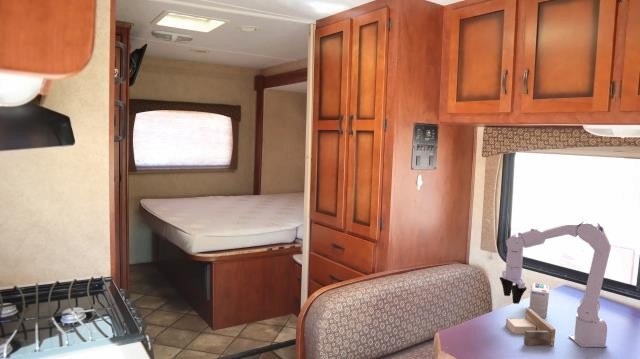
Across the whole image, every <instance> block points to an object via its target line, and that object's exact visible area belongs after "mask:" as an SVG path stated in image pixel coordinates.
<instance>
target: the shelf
mask: <svg viewBox="0 0 640 359" xmlns="http://www.w3.org/2000/svg"><path fill="white" fill-rule="evenodd" d="M525 319H528V320H529V321H530V322H531V323H533V324H534V325H535V326H536V331H525V334H524V338H523V339H524V340H523V345H524V346H529V347H530V346H532V347H535V346H538V347H539V346H541V347H544V346H545V345H554V346H555V340H556V328H554V327H553V326H552V325H551V324H550V323H549V322H547V321H546V319H544V318H541V317H540V316H539V315H537V314H536V313H535V312H534V311H533V310H531V309H529V308H525Z"/></svg>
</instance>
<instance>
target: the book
mask: <svg viewBox="0 0 640 359" xmlns="http://www.w3.org/2000/svg"><path fill="white" fill-rule="evenodd" d="M505 326H506V327H507V328H508V329H509V330H510V331H511V332H512V333H513V334H517V335H520V334H521V335H523V334H524V335H525V331H536V326H535V325H534V324H533V323H531V322H530V321H529V320H528V319H526V318H506V324H505Z"/></svg>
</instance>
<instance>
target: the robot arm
mask: <svg viewBox="0 0 640 359" xmlns="http://www.w3.org/2000/svg"><path fill="white" fill-rule="evenodd" d="M566 235H567V236H568V235H569V236H572V237H574V238H577V236H578V237H579V239H580V240H582V241H583V242H585V243H587V244H588V245H589V246H590V247H591V248H592V249H593V250H594V251H593V257H592V260H591V264H590V268H589V273H588V277H587V281H586V286H585V290H584V294H583V297H582V299H580V300H579V306H578V307H577V308H576V309H577V310H576V315H575V316H576V317H575V326H574V327H575V328H574V335H570V334H569V335H568V337H569V338H570V340H572V341H573V342H575V343H576V344H577V345H579V346H580V347H581V348H607V347H608V345H607V337H608V326H607V325H608V324H607V322H606V321H605V320H604V319H603V318H601V317H599V311H600V309H601V304H600V295H601V291H602V286H603V282H604V277H605V273H606V270H607V265H608V261H609V256H610V253H611V249H612V246H611V244H610V243H611V242H610V241H609V239H608V236H607V234H606V232H605V230H604V227H603V226H602V225H601V224H600V223H599V222H598V221H597V220H596V219H592V218H588V219H584V220H576V221H573V222H568V223H565V224H561V225H559V226H554V227H552V228H549V229H548V228H547V229H545V230H542V229H540V228H535V227H533V228H530V230H527V231H524V232H522V231H520V232H517V233H516V234H512V235H510V237H509V238H507V240H506V243H505V244H506V247H507V253H506V259H505V260H506V263H505V264H506V265H505V270H502V272H501V275H502V276H500V277H499V280H500V283H501V285H502V291H503V296H504V297H510V296H511V295H512V303H513V304H514V305H515V304H517V305H518V304H520V302H521V300H522V297H523V295H524V293H525V292H526V291H527V286H525V285H526V283H525V282H524V280H523V277H522V273H523V261H524V260H523V259H524V248H526V249H528V248H532V247H535V246H539V245H542V244H544V243H545V241H546V240H549V239H553V238H558V237H563V236H566Z"/></svg>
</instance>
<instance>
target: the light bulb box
mask: <svg viewBox="0 0 640 359" xmlns="http://www.w3.org/2000/svg"><path fill="white" fill-rule="evenodd" d="M549 297H550V286H549V284H541V283H538V282H537V283H535V282H531V286H530V296H529V308H528V309H531V310H533V311H534V312H535V313H536V314H537V315H539V316H540V317H542V319H547V318H548V315H547V314H548V306H549Z"/></svg>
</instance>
